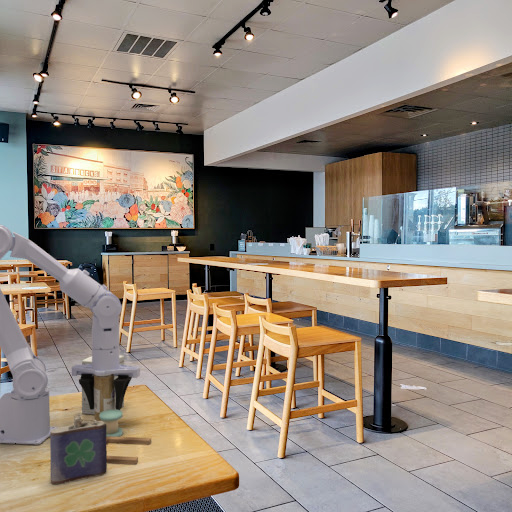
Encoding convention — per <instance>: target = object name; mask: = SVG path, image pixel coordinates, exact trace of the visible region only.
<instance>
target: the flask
mask: <svg viewBox="0 0 512 512" xmlns="http://www.w3.org/2000/svg"><path fill="white" fill-rule="evenodd" d="M73 418H74V419H73V424H70V425H66V426H62V427H61V426H60V427H58V428H56V429H53V430H52V431H51V432H50V436H49V437H50V441H49V443H50V444H49V447H50V461H49V462H50V480H49V481H50V483H51V485H62V484H63V485H64V484H65V483H70V482H78V481H80V480H83V479H90V478H95V477H100V476H103V475H105V474H107V469H108V463H107V456H108V455H107V453H108V452H107V451H108V450H107V445H108V444H107V442H106V436H107V433H106V428H107V426H106V424H105V422H103V421H96V420H95V419H93V420H88V421H86V420H84V419H83V418H82V413H78V414H76V415H73ZM106 444H107V445H106Z"/></svg>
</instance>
